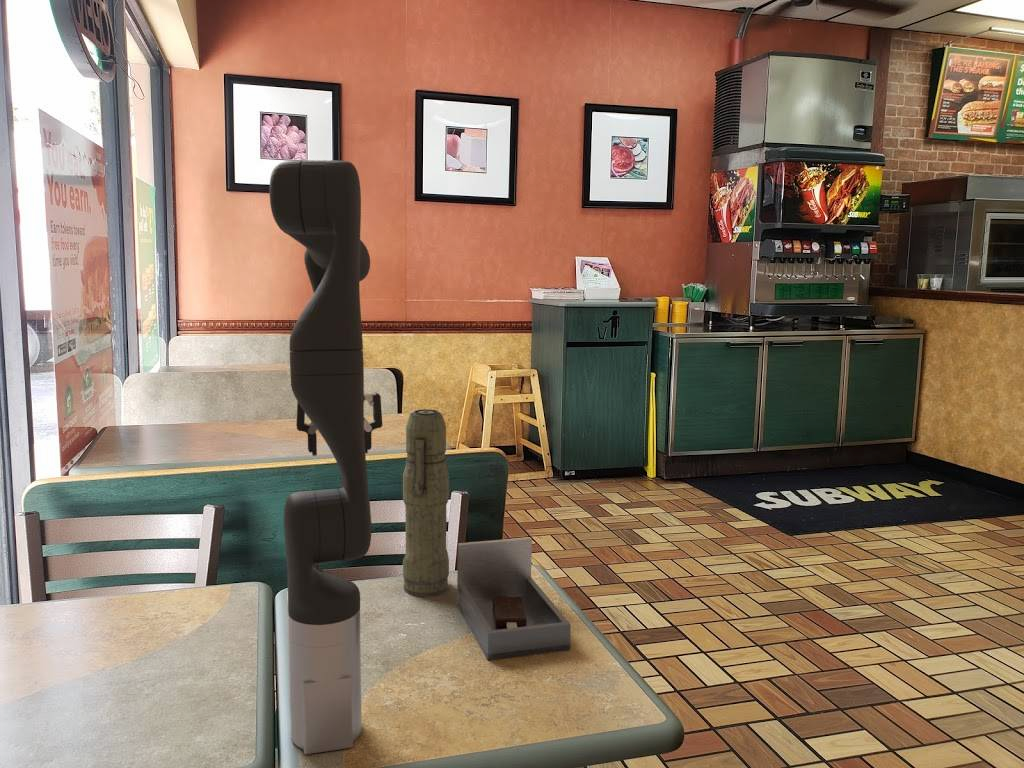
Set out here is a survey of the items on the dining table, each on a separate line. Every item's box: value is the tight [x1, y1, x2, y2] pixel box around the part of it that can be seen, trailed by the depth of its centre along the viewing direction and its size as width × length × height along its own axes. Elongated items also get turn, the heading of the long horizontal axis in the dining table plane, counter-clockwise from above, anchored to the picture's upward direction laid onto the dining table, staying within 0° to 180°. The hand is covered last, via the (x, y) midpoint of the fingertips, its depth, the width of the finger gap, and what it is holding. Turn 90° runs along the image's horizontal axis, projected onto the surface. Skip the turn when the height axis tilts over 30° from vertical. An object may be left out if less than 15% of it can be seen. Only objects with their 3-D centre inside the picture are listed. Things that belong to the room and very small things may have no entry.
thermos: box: [402, 408, 450, 597], centre depth 155 cm, size 9×12×35 cm
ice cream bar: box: [493, 596, 527, 629], centre depth 140 cm, size 5×2×15 cm
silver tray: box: [456, 536, 572, 661], centre depth 141 cm, size 24×14×12 cm, turn 17°
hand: (340, 453), depth 138 cm, fingers open, 8 cm apart
